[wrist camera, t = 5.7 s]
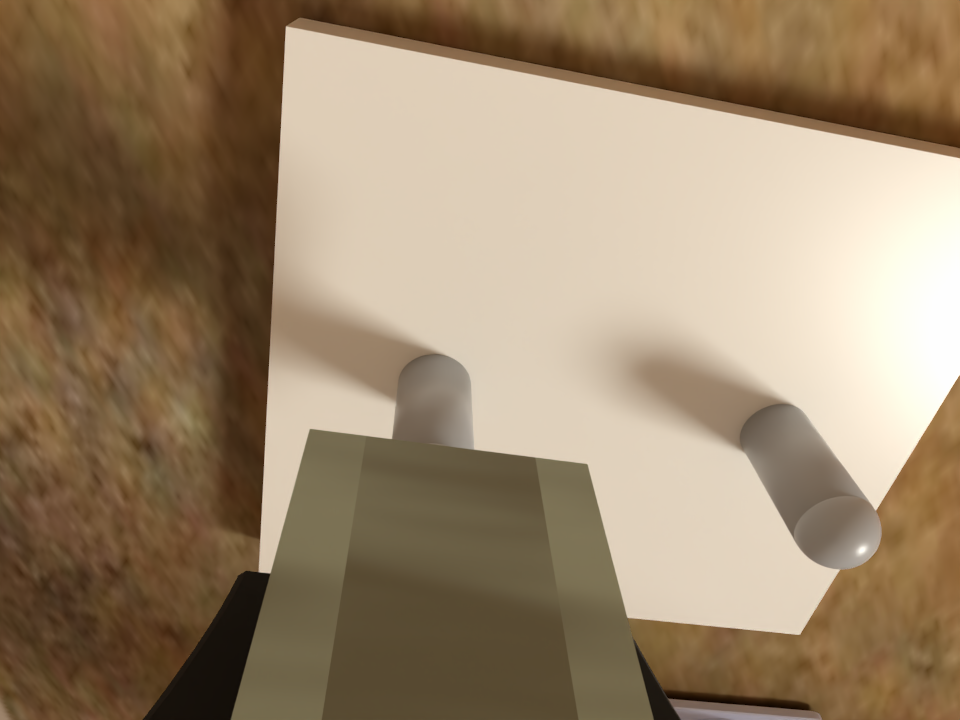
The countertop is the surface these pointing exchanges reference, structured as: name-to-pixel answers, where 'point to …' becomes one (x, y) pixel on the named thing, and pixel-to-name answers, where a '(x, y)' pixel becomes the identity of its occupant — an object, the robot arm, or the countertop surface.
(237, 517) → the countertop surface
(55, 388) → the countertop surface
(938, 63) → the countertop surface
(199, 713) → the robot arm
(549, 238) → the jig board
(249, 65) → the countertop surface
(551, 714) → the square socket block
